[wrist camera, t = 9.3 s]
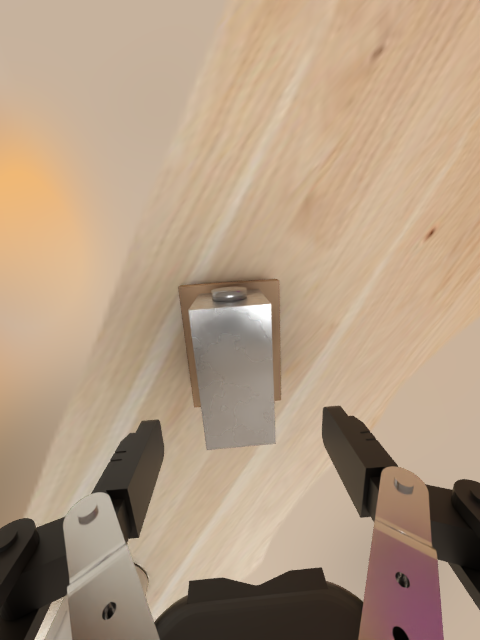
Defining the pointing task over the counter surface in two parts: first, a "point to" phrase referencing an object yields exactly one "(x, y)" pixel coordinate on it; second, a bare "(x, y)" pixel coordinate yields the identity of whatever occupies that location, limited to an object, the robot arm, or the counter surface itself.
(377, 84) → the counter surface
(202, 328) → the block
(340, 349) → the counter surface
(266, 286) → the stand
